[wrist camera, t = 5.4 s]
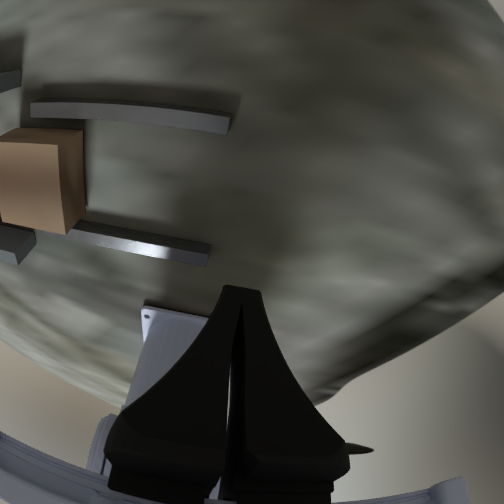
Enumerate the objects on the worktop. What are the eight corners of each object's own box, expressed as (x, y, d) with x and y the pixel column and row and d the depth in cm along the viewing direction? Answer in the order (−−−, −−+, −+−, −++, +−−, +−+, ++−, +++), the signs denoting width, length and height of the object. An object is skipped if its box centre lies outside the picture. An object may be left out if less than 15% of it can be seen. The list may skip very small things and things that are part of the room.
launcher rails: (208, 256, 23) (206, 266, 22) (50, 225, 22) (42, 233, 21) (232, 113, 17) (229, 117, 16) (40, 98, 16) (30, 102, 15)
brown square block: (85, 212, 20) (65, 235, 18) (24, 201, 20) (2, 221, 18) (82, 130, 17) (57, 145, 15) (16, 127, 17) (-11, 141, 14)
